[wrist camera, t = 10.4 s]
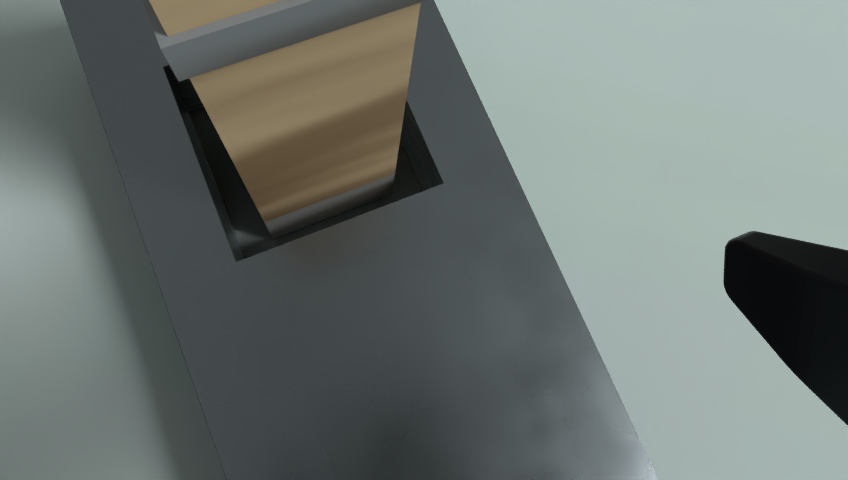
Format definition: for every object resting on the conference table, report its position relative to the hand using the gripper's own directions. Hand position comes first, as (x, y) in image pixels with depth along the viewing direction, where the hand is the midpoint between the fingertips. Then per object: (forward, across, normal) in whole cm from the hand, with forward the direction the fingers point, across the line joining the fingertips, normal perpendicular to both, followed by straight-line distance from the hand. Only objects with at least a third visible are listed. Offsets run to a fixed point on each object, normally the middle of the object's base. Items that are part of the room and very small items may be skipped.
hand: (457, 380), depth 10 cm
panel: (+11, 0, +5) cm, 12 cm away
